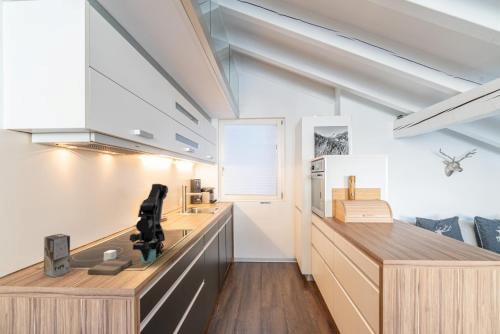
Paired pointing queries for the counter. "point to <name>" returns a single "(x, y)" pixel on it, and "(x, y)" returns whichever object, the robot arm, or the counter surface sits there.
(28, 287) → the counter surface
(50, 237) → the coffee box
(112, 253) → the cream block
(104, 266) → the walnut base
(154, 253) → the teal block
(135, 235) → the robot arm
